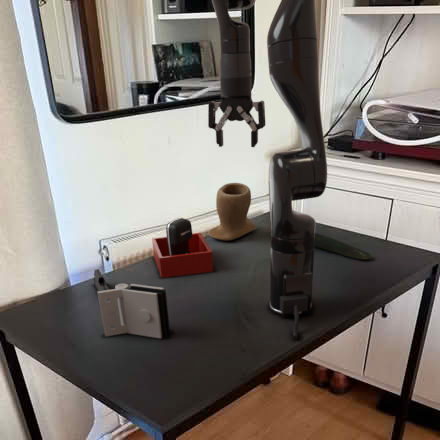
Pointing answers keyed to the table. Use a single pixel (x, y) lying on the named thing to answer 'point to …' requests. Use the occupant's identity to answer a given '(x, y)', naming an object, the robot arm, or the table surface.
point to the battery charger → (178, 236)
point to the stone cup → (232, 212)
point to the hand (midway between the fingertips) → (237, 146)
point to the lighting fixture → (100, 282)
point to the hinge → (135, 310)
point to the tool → (339, 247)
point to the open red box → (183, 257)
